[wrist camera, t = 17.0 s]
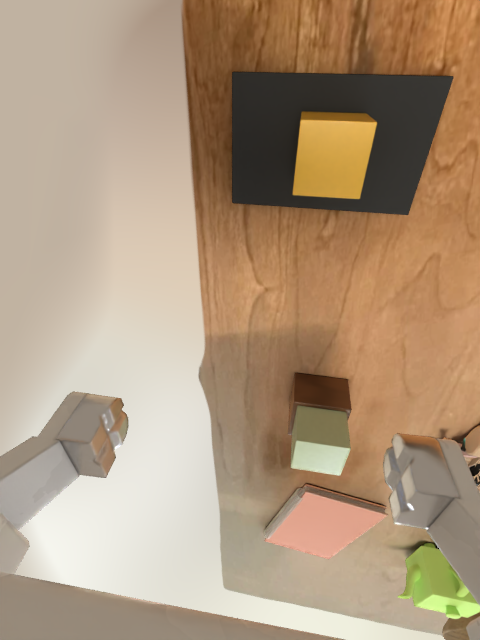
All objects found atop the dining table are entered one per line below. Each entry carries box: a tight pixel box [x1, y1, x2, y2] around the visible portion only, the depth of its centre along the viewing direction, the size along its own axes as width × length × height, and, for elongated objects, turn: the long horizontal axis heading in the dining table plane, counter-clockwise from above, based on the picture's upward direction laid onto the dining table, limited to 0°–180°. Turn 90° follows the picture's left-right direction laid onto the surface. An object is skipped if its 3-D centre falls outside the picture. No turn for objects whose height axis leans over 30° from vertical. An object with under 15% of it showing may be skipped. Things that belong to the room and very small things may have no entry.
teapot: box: [398, 543, 480, 619], centre depth 66 cm, size 15×13×11 cm
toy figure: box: [443, 425, 480, 486], centre depth 46 cm, size 7×6×15 cm
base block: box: [288, 373, 352, 435], centre depth 45 cm, size 7×7×5 cm
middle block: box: [291, 405, 351, 476], centre depth 41 cm, size 6×6×5 cm
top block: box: [293, 111, 377, 199], centre depth 25 cm, size 5×5×5 cm
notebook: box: [263, 484, 388, 559], centre depth 70 cm, size 27×17×2 cm, turn 166°
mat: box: [232, 72, 453, 215], centre depth 28 cm, size 16×10×1 cm, turn 89°
